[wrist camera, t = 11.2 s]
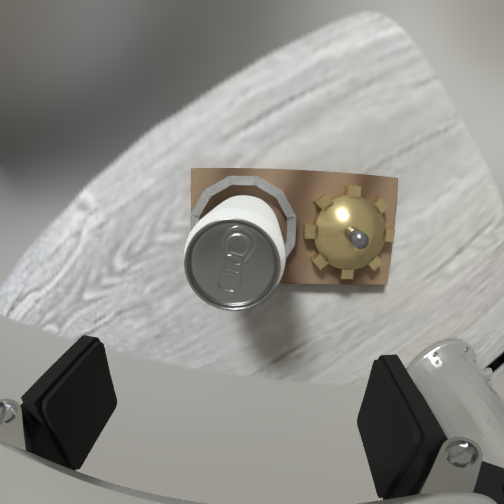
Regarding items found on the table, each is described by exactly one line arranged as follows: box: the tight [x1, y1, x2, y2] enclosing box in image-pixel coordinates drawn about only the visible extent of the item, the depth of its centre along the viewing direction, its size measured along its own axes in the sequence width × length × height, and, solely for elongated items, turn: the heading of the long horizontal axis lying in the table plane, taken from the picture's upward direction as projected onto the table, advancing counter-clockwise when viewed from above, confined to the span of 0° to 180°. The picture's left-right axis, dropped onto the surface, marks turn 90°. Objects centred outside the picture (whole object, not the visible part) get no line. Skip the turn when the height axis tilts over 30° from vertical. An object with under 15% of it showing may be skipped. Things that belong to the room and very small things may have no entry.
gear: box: [303, 185, 395, 279], centre depth 27 cm, size 9×9×4 cm
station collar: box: [190, 176, 296, 258], centre depth 29 cm, size 10×10×1 cm
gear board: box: [191, 168, 398, 285], centre depth 30 cm, size 20×11×2 cm, turn 89°
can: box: [184, 195, 286, 311], centre depth 24 cm, size 6×6×12 cm
